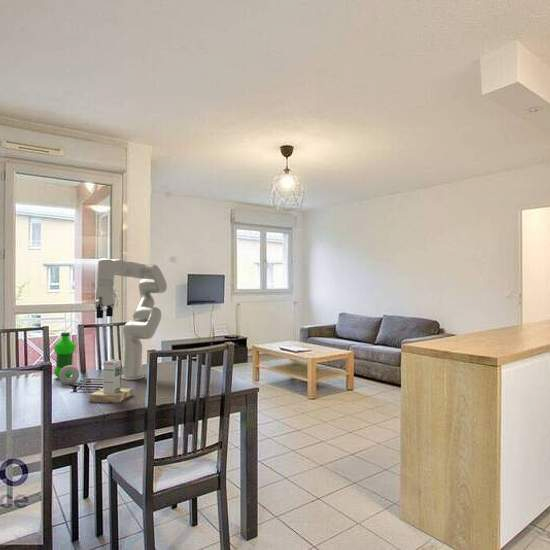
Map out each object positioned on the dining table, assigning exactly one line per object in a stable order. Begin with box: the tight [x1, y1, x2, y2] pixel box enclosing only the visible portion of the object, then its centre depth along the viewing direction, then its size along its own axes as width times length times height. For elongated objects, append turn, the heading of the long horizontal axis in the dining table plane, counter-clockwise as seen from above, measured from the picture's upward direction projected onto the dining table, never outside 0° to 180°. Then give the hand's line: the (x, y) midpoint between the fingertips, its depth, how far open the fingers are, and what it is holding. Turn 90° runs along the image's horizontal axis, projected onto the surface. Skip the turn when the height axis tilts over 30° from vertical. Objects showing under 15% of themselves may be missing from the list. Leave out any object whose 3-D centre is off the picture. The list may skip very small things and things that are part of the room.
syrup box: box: [102, 359, 122, 393], centre depth 196 cm, size 6×6×14 cm
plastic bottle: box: [53, 331, 76, 379], centre depth 232 cm, size 10×10×25 cm
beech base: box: [88, 387, 134, 404], centre depth 196 cm, size 14×14×3 cm
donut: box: [58, 365, 80, 385], centre depth 218 cm, size 10×4×10 cm, turn 98°
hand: (104, 317), depth 211 cm, fingers open, 9 cm apart
